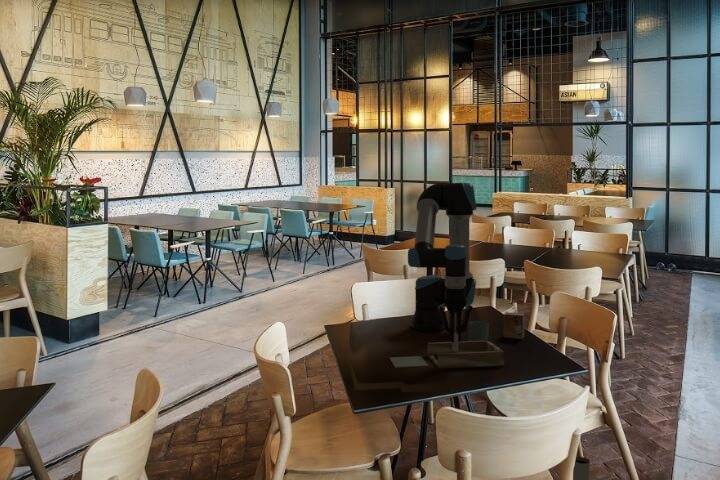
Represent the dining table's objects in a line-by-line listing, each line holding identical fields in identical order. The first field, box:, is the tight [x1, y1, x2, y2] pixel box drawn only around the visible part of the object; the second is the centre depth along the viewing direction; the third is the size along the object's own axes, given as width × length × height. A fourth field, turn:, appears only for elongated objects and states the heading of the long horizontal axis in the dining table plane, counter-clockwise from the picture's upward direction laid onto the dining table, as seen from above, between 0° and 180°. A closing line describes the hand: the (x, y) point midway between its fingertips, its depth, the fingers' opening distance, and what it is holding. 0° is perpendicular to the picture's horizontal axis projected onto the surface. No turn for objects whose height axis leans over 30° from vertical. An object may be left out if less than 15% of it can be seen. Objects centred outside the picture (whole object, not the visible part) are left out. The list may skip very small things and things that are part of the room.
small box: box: [503, 311, 526, 340], centre depth 252 cm, size 8×6×10 cm
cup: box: [468, 320, 490, 341], centre depth 237 cm, size 8×8×10 cm
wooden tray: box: [426, 339, 505, 369], centre depth 219 cm, size 17×24×5 cm
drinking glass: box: [573, 456, 591, 480], centre depth 250 cm, size 7×7×10 cm
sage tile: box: [389, 355, 429, 369], centre depth 218 cm, size 12×12×1 cm
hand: (455, 350), depth 219 cm, fingers closed
